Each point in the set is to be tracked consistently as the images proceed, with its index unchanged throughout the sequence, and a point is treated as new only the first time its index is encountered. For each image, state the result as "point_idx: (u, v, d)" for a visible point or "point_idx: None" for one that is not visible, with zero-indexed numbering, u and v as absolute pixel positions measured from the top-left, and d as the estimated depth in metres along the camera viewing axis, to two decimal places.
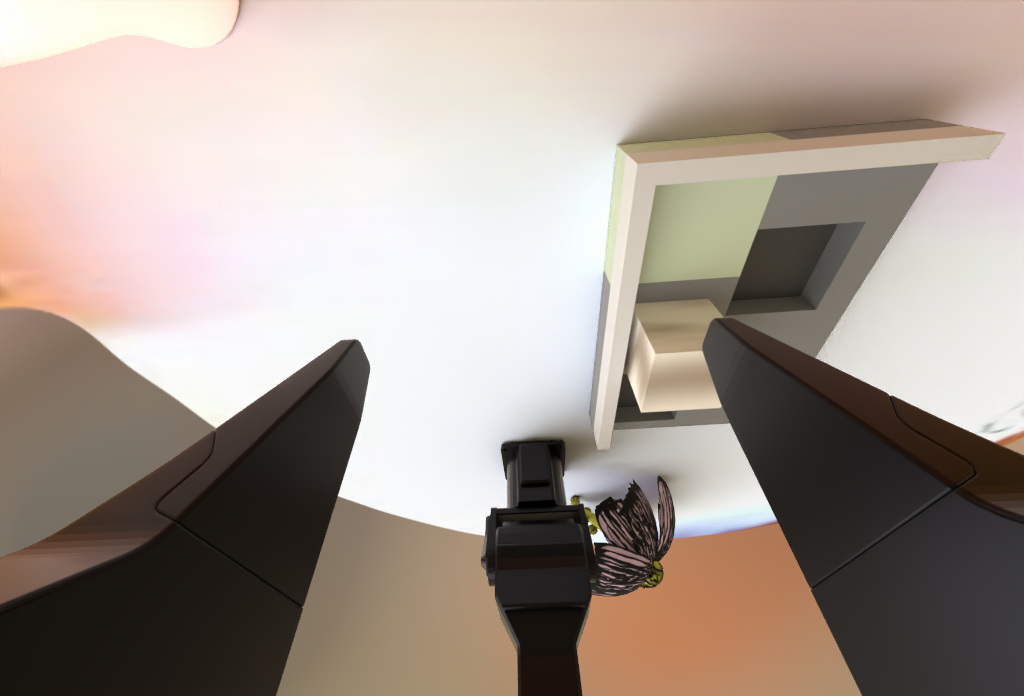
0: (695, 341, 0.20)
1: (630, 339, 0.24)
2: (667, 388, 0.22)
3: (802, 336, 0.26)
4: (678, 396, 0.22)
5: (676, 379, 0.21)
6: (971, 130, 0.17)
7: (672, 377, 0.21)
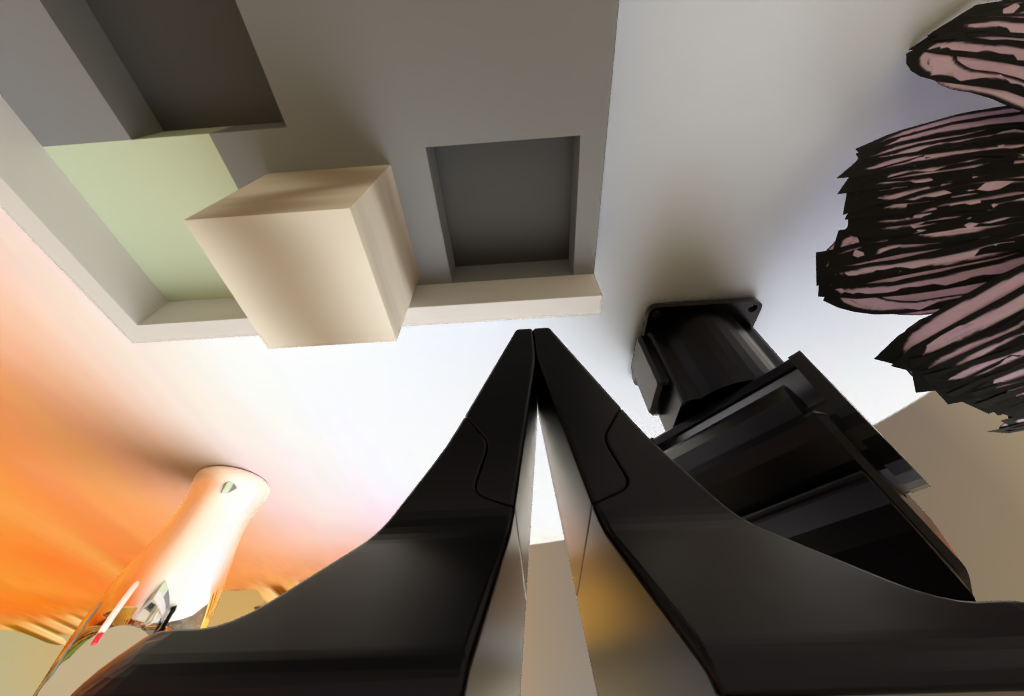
0: None
1: None
2: (329, 317, 0.13)
3: None
4: (341, 297, 0.12)
5: (304, 310, 0.13)
6: None
7: (301, 317, 0.13)
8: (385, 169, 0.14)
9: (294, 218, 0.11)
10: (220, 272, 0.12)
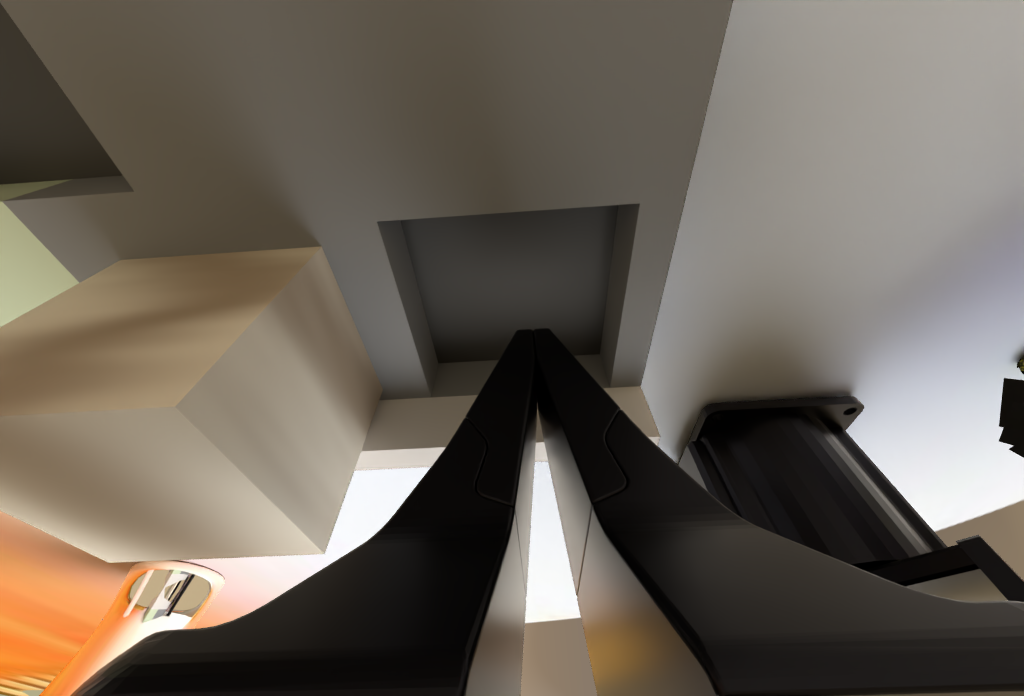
0: None
1: None
2: (198, 533, 0.07)
3: None
4: (210, 513, 0.07)
5: (148, 526, 0.07)
6: None
7: (148, 533, 0.07)
8: (307, 260, 0.08)
9: (62, 421, 0.05)
10: None
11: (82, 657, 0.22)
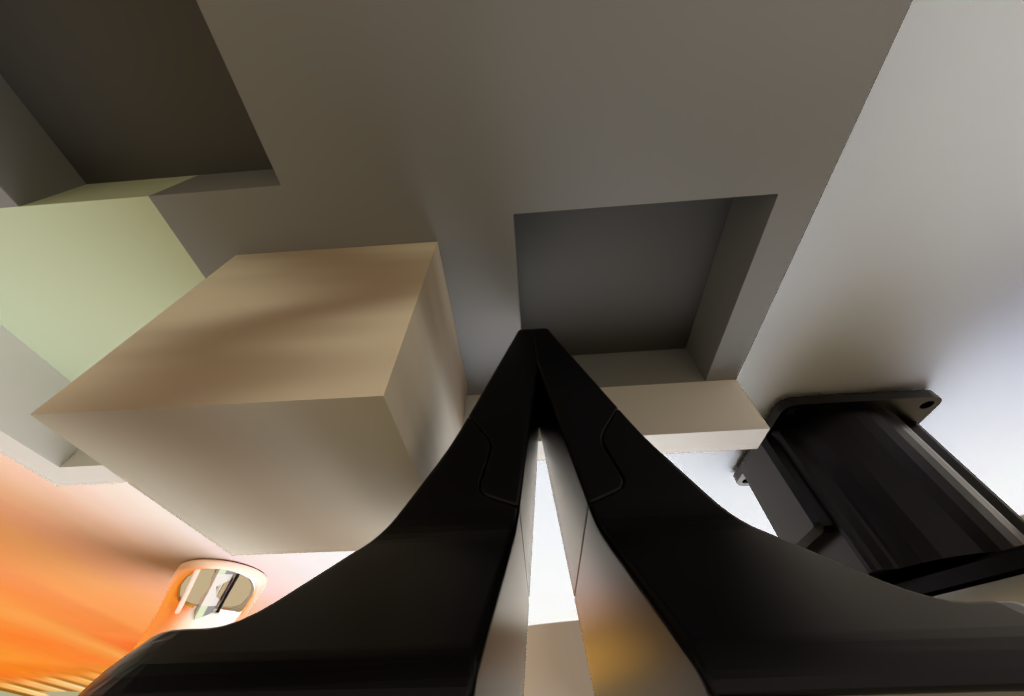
0: None
1: None
2: (336, 525, 0.07)
3: None
4: (359, 505, 0.07)
5: (290, 518, 0.07)
6: None
7: (286, 526, 0.07)
8: (431, 255, 0.08)
9: (266, 411, 0.05)
10: (131, 476, 0.06)
11: None
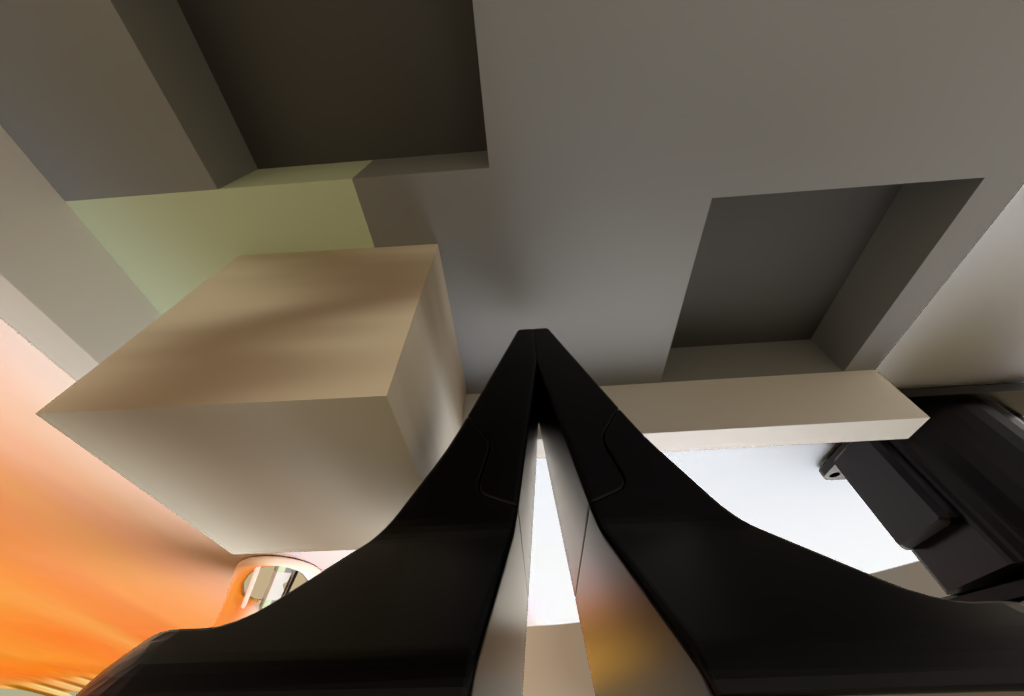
0: None
1: None
2: (336, 524, 0.07)
3: None
4: (360, 504, 0.07)
5: (291, 518, 0.07)
6: None
7: (287, 525, 0.07)
8: (432, 257, 0.08)
9: (270, 410, 0.05)
10: (134, 475, 0.06)
11: None
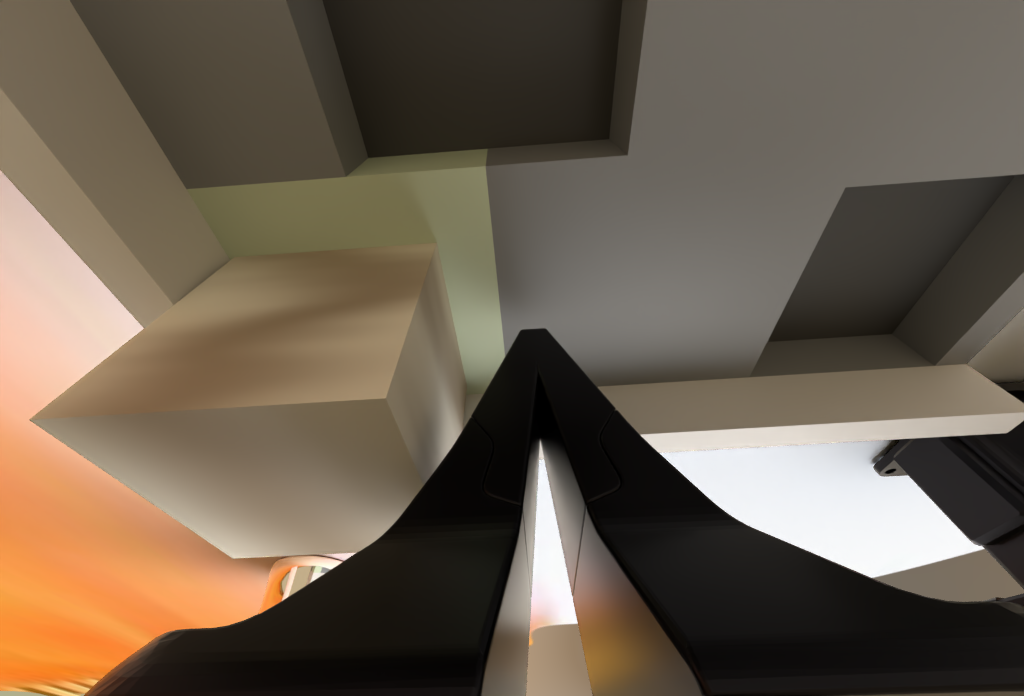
0: None
1: None
2: (338, 527, 0.07)
3: None
4: (360, 507, 0.07)
5: (291, 521, 0.07)
6: None
7: (287, 528, 0.07)
8: (431, 256, 0.08)
9: (268, 413, 0.05)
10: (131, 480, 0.06)
11: None
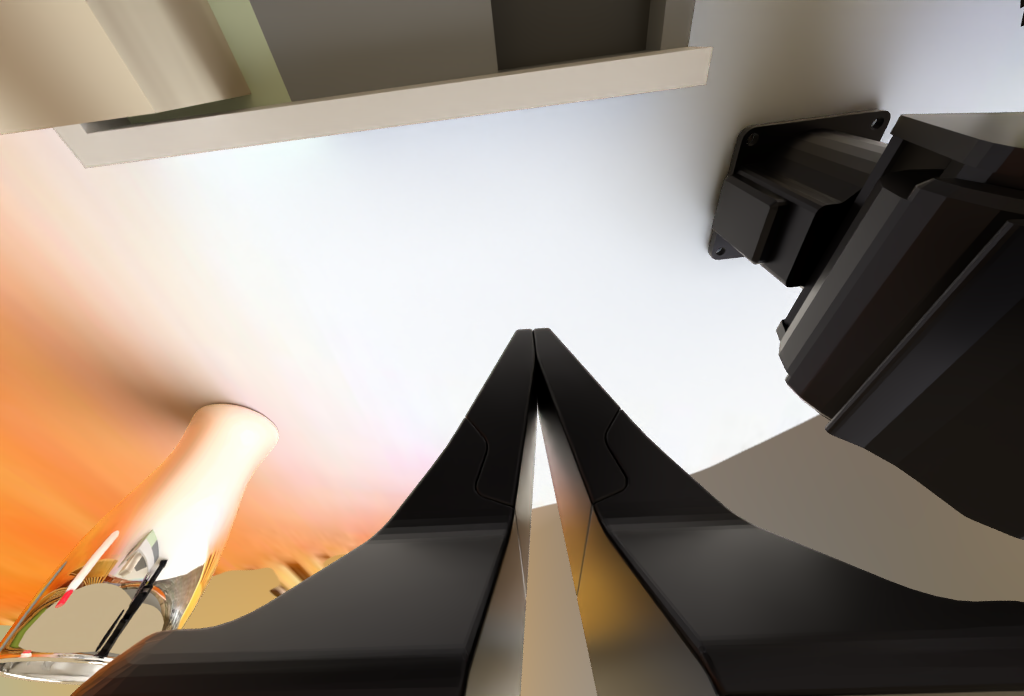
0: None
1: None
2: (40, 64, 0.09)
3: None
4: (37, 18, 0.09)
5: None
6: None
7: (0, 66, 0.09)
8: None
9: None
10: None
11: (161, 468, 0.23)
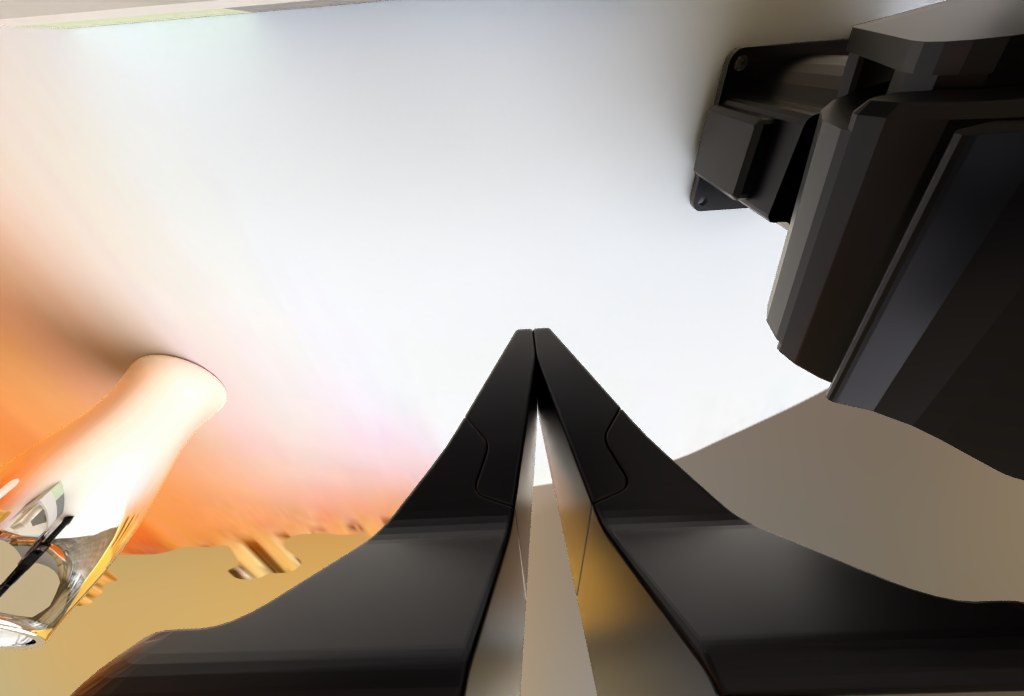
0: None
1: None
2: None
3: None
4: None
5: None
6: None
7: None
8: None
9: None
10: None
11: (81, 417, 0.21)
